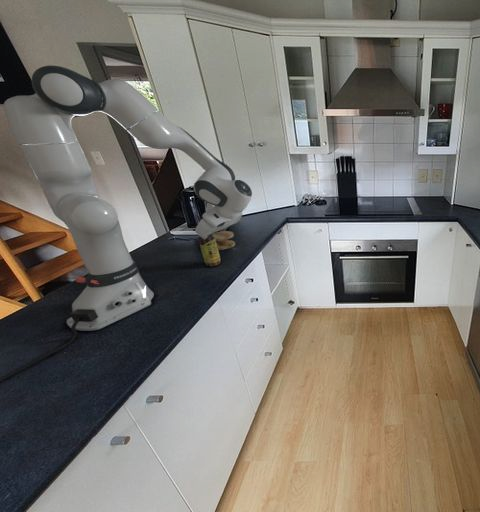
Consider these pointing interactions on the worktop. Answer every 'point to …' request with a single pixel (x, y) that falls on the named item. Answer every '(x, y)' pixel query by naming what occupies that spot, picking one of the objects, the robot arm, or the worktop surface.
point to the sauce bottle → (209, 250)
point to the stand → (224, 239)
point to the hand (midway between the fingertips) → (213, 233)
